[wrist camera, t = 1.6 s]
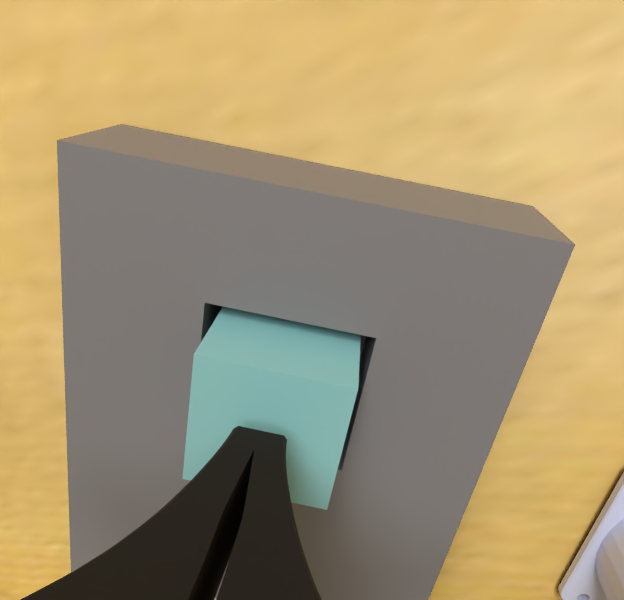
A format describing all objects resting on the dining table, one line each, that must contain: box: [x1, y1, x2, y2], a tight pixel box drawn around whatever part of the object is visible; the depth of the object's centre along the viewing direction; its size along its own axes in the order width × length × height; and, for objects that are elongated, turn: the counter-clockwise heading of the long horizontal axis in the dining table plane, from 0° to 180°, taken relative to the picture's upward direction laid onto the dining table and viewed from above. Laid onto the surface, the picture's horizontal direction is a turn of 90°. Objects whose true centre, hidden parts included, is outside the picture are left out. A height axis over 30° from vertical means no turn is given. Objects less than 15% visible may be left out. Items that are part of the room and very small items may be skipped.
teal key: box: [182, 307, 361, 510], centre depth 16 cm, size 4×4×3 cm
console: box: [57, 124, 575, 600], centre depth 21 cm, size 14×26×4 cm, turn 170°
